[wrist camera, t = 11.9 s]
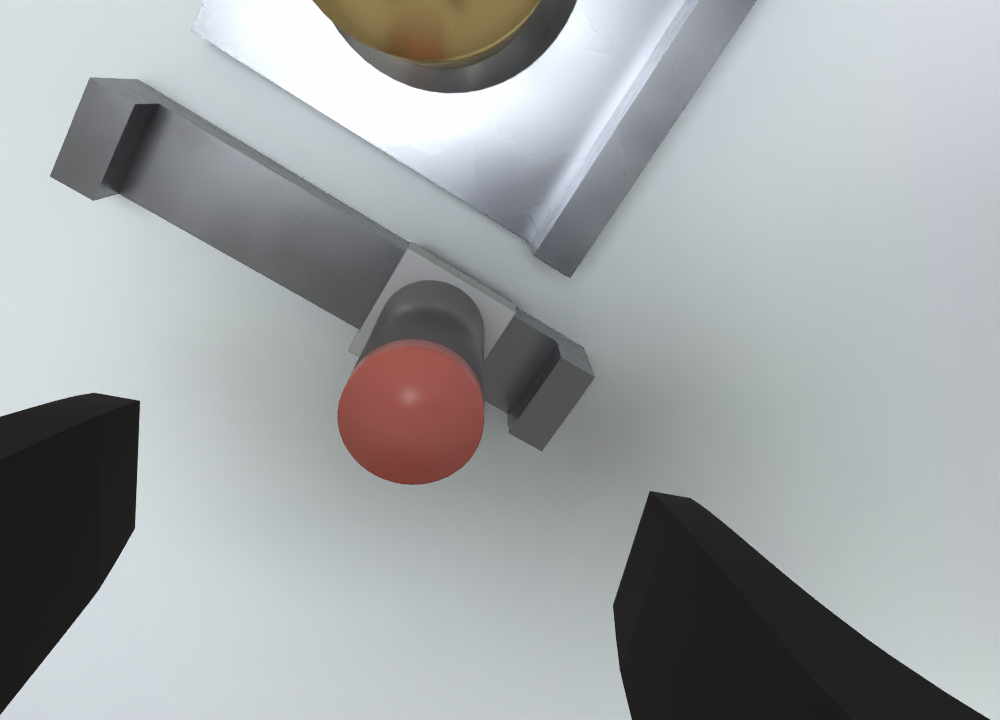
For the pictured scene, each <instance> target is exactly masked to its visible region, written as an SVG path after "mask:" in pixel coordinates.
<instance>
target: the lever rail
mask: <svg viewBox="0 0 1000 720" xmlns="http://www.w3.org/2000/svg"><path fill="white" fill-rule="evenodd" d="M50 177H52V178H54V179H56V180H57V181H59V182H61V183H63V184H65V185H66V186H68V187H70V188H72V189H73V190H75V191H77V192H79V193H81V194H82V195H84V196H86V197H88V198H90V199H91V200H93V201H94V200H98V199H101V198H105V197H109V196H112V195H116V194H121V195H122V196H124V197H126V198H128V199H129V200H131V201H133V202H135V203H136V204H138V205H140V206H142V207H144V208H145V209H147V210H149V211H151V212H152V213H154V214H156V215H158V216H160V217H161V218H163V219H165V220H167V221H168V222H170V223H172V224H174V225H175V226H177V227H179V228H181V229H183V230H184V231H186V232H188V233H190V234H191V235H193V236H195V237H197V238H198V239H200V240H202V241H204V242H206V243H207V244H209V245H211V246H213V247H214V248H216V249H218V250H220V251H221V252H223V253H225V254H227V255H229V256H230V257H232V258H234V259H236V260H237V261H239V262H241V263H243V264H244V265H246V266H248V267H250V268H252V269H253V270H255V271H257V272H259V273H260V274H262V275H264V276H266V277H267V278H269V279H271V280H273V281H275V282H276V283H278V284H280V285H282V286H283V287H285V288H287V289H289V290H290V291H292V292H294V293H296V294H298V295H299V296H301V297H303V298H305V299H306V300H308V301H310V302H312V303H314V304H315V305H317V306H319V307H321V308H322V309H324V310H326V311H328V312H329V313H331V314H333V315H335V316H337V317H338V318H340V319H342V320H344V321H345V322H347V323H349V324H351V325H352V326H354V327H356V328H358V329H360V328H361V327H362V325H363V323H364V321H365V320H366V318H367V316H368V315H369V313H370V311H371V310H372V308H373V306H374V304H375V303H376V301H377V299H378V298H379V296H380V294H381V292H382V291H383V289H384V287H385V286H386V284H387V282H388V281H389V279H390V277H391V275H392V274H393V272H394V270H395V269H396V267H397V265H398V263H399V262H400V260H401V258H402V257H403V255H404V253H405V252H406V250H407V248H408V246H409V245H410V243H408V242H407V241H405V240H403V239H402V238H400V237H398V236H397V235H395V234H393V233H392V232H390V231H388V230H387V229H385V228H383V227H382V226H380V225H378V224H377V223H375V222H374V221H372V220H370V219H369V218H367V217H365V216H364V215H362V214H360V213H359V212H357V211H355V210H354V209H352V208H350V207H349V206H347V205H345V204H344V203H342V202H340V201H339V200H337V199H335V198H334V197H332V196H330V195H329V194H327V193H325V192H324V191H322V190H320V189H319V188H317V187H315V186H314V185H312V184H310V183H309V182H307V181H305V180H304V179H302V178H300V177H299V176H297V175H295V174H294V173H292V172H290V171H289V170H287V169H285V168H284V167H282V166H280V165H279V164H277V163H275V162H274V161H272V160H270V159H269V158H267V157H265V156H264V155H262V154H260V153H259V152H257V151H255V150H254V149H252V148H250V147H249V146H247V145H245V144H244V143H242V142H240V141H239V140H237V139H236V138H234V137H232V136H231V135H229V134H227V133H226V132H224V131H222V130H221V129H219V128H217V127H216V126H214V125H212V124H211V123H209V122H207V121H206V120H204V119H202V118H201V117H199V116H197V115H196V114H194V113H192V112H191V111H189V110H187V109H186V108H184V107H182V106H181V105H179V104H177V103H176V102H174V101H172V100H171V99H169V98H167V97H166V96H164V95H162V94H161V93H159V92H157V91H156V90H154V89H152V88H151V87H149V86H147V85H146V84H144V83H142V82H141V81H139V80H137V79H115V78H91V77H90V79H89V81H88V84H87V86H86V89H85V91H84V93H83V96H82V98H81V101H80V103H79V106H78V108H77V111H76V113H75V116H74V118H73V121H72V123H71V126H70V128H69V131H68V133H67V135H66V138H65V140H64V143H63V145H62V148H61V150H60V153H59V155H58V158H57V160H56V163H55V165H54V168H53V170H52V173H51V175H50ZM515 312H516V313H515V315H514V316H513V318H512V319H511V321H510V322H509V324H508V325H507V327H506V328H505V330H504V331H503V333H502V334H501V336H500V337H499V339H498V340H497V342H496V343H495V345H494V346H493V348H492V350H491V351H490V353H489V354H488V356H487V357H486V359H485V360H484V400H485V401H487V402H489V403H491V404H492V405H494V406H496V407H498V408H499V409H501V410H503V411H505V412H506V413H508V427H509V433H510V434H512V435H514V436H516V437H517V438H519V439H521V440H523V441H524V442H526V443H528V444H530V445H532V446H533V447H535V448H537V449H539V450H541V451H542V450H543V449H544V447H545V446H546V445H547V443H548V442H549V440H550V439H551V438H552V436H553V435H554V433H555V432H556V431H557V429H558V428H559V427H560V425H561V424H562V422H563V421H564V420H565V418H566V417H567V415H568V414H569V413H570V411H571V410H572V408H573V407H574V406H575V404H576V403H577V401H578V400H579V399H580V397H581V396H582V395H583V393H584V392H585V390H586V389H587V388H588V386H589V385H590V383H591V382H592V381H593V379H594V378H595V376H594V374H593V371H592V369H591V366H590V363H589V361H588V358H587V356H586V353H585V350H584V348H583V347H581V346H580V345H578V344H576V343H575V342H573V341H571V340H570V339H568V338H566V337H565V336H563V335H561V334H560V333H558V332H556V331H555V330H553V329H551V328H550V327H548V326H546V325H545V324H543V323H541V322H540V321H538V320H536V319H535V318H533V317H531V316H530V315H528V314H526V313H525V312H523V311H521V310H520V309H518V308H516V307H515Z"/></svg>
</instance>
